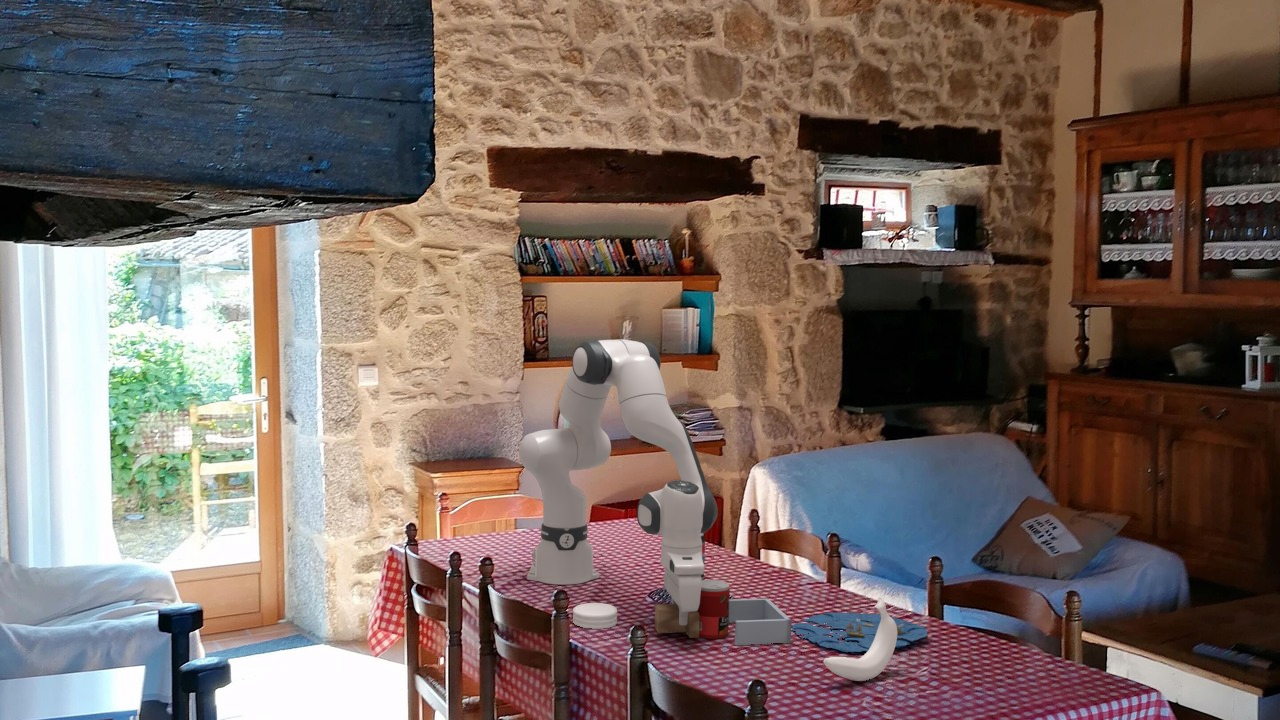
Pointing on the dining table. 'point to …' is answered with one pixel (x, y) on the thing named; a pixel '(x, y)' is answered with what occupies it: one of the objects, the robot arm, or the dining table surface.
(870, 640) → the decorative plate
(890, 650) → the banana
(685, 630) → the t-shaped block
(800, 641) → the dining table surface
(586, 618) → the white round container
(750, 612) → the box
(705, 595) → the canned food
